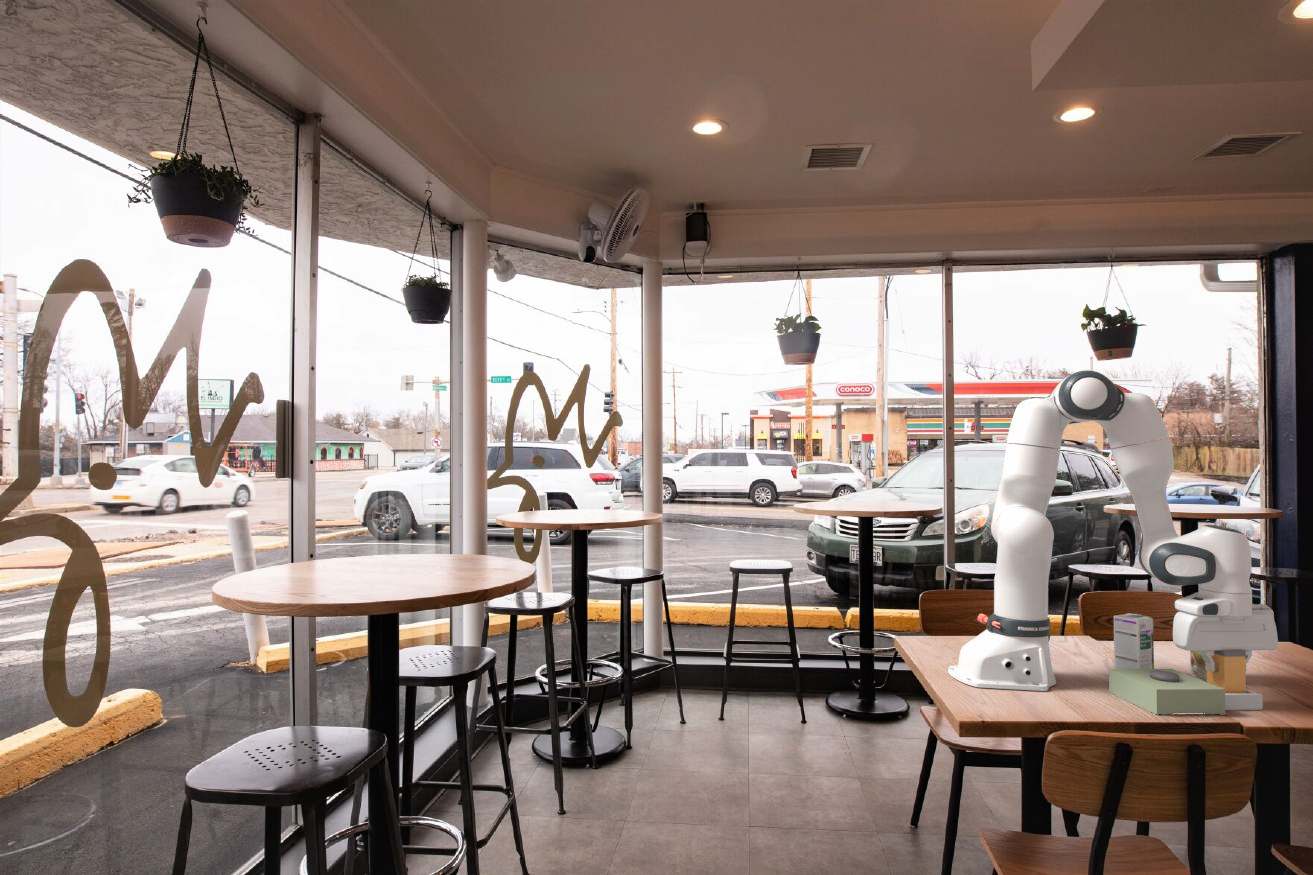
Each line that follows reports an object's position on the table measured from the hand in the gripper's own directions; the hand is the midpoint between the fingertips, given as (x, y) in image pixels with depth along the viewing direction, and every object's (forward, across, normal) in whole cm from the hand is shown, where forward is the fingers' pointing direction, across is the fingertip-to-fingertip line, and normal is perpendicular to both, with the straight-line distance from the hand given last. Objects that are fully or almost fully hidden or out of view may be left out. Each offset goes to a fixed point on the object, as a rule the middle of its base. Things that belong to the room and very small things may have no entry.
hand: (1225, 671), depth 154 cm
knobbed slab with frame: (+6, +8, 0) cm, 10 cm away
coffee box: (+7, -12, -17) cm, 22 cm away
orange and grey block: (+4, 0, 0) cm, 4 cm away
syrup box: (+7, +8, -16) cm, 19 cm away
